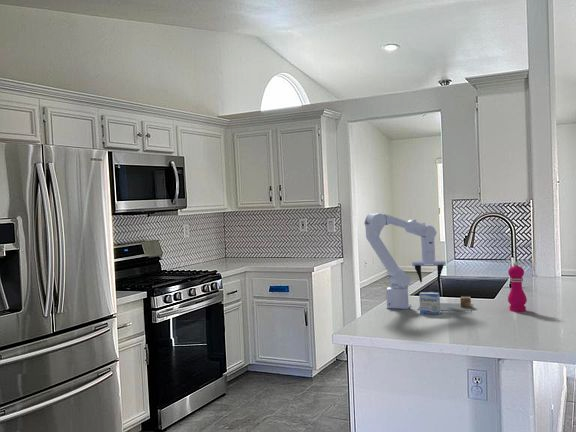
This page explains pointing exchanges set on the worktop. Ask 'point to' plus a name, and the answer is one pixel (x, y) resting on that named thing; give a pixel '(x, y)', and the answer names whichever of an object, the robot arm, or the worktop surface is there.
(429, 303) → the medicine box
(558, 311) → the worktop surface
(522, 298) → the pepper mill
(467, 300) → the walnut block
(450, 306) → the mat
